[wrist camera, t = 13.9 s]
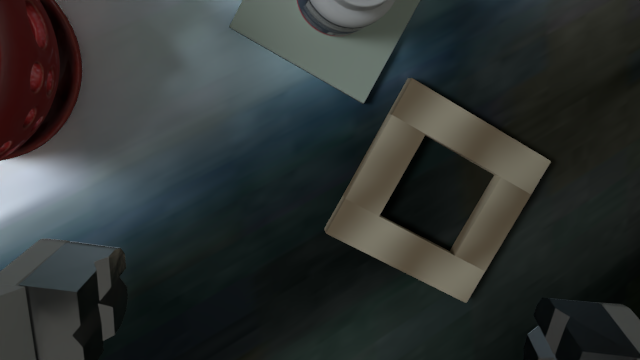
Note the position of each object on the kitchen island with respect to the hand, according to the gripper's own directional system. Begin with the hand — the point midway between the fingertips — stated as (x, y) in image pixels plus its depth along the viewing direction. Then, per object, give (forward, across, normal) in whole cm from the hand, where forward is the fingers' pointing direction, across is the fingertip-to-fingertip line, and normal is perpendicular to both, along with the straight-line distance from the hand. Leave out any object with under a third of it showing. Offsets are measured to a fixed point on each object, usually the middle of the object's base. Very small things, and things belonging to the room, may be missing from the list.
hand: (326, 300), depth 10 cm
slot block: (+25, +8, -8) cm, 27 cm away
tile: (+26, -1, +5) cm, 27 cm away
